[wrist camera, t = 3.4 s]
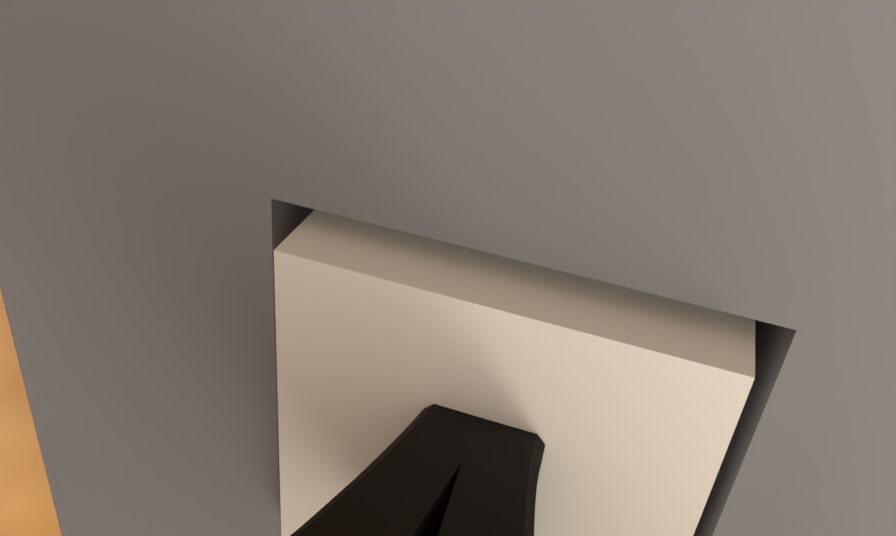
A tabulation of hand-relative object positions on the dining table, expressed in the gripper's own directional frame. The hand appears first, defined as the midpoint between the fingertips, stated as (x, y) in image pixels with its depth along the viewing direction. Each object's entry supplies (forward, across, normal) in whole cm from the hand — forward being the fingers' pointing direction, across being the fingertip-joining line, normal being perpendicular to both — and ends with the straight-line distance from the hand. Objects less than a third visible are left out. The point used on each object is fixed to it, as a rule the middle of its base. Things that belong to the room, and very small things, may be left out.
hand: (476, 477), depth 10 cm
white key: (+3, 0, 0) cm, 3 cm away
